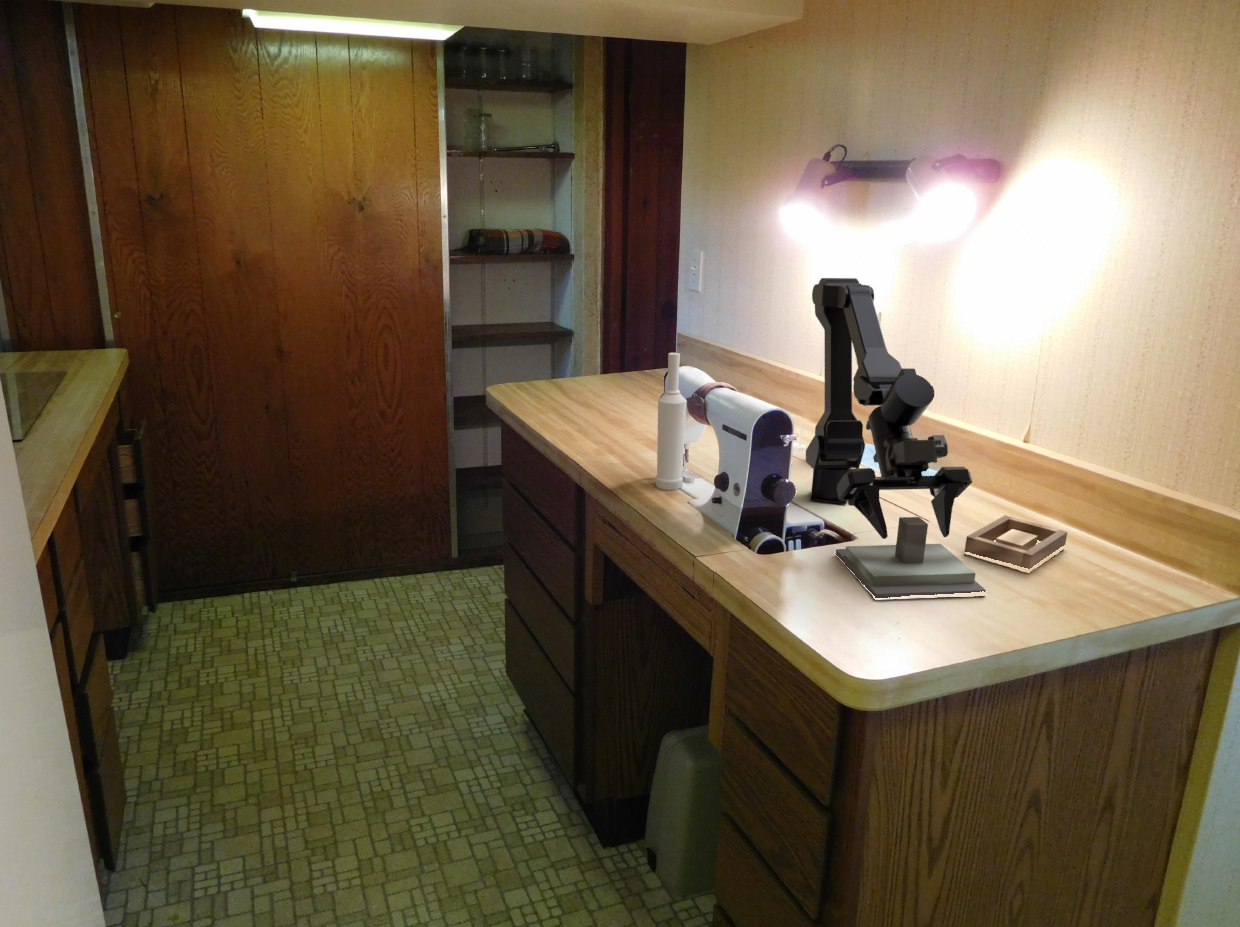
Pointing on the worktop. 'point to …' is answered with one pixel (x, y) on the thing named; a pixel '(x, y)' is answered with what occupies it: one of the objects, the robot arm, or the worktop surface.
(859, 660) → the worktop surface
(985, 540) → the brown wooden flat frame
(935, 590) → the rubber mat
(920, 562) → the lid
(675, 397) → the bottle
